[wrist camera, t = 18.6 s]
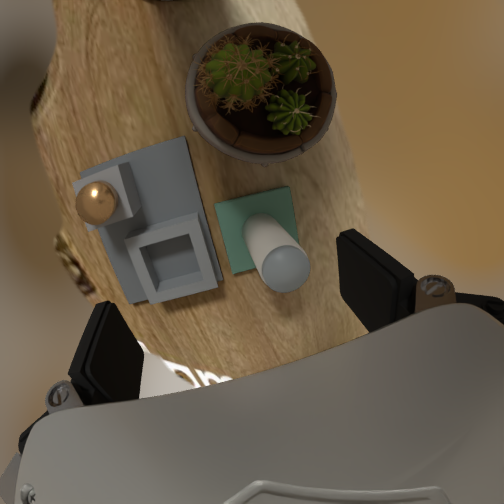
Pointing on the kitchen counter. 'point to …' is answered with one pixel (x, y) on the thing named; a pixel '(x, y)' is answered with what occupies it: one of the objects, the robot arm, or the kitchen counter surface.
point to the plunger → (96, 202)
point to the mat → (241, 209)
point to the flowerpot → (260, 93)
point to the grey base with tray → (156, 224)
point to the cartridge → (275, 253)
